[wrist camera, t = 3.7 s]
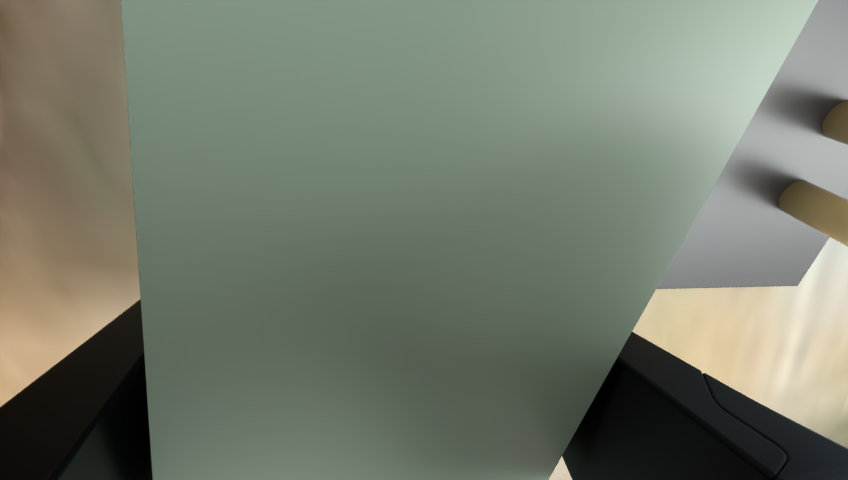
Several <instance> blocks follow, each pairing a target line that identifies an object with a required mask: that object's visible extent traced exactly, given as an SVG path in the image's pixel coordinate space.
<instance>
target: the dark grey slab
mask: <svg viewBox="0 0 848 480" xmlns="http://www.w3.org/2000/svg"><path fill="white" fill-rule="evenodd" d="M829 237H831V238H833V239H835V240H837V241H839V242H840V243H842V244H844V245H846V246H848V0H818V2H817V4H816V6H815V7H814V9H813V11H812V13H811V15H810V16H809V18H808V20H807V22H806V23H805V25H804V27H803V29H802V31H801V32H800V34H799V36H798V38H797V39H796V41H795V43H794V45H793V46H792V48H791V50H790V52H789V54H788V55H787V57H786V59H785V61H784V62H783V64H782V66H781V68H780V70H779V71H778V73H777V75H776V77H775V78H774V80H773V82H772V84H771V86H770V87H769V89H768V91H767V93H766V94H765V96H764V98H763V100H762V101H761V103H760V105H759V107H758V109H757V110H756V112H755V114H754V116H753V117H752V119H751V121H750V123H749V125H748V126H747V128H746V130H745V132H744V133H743V135H742V137H741V139H740V141H739V142H738V144H737V146H736V148H735V149H734V151H733V153H732V155H731V157H730V158H729V160H728V162H727V164H726V165H725V167H724V169H723V171H722V172H721V174H720V176H719V178H718V180H717V181H716V183H715V185H714V187H713V188H712V190H711V192H710V194H709V196H708V197H707V199H706V201H705V203H704V204H703V206H702V208H701V210H700V212H699V213H698V215H697V217H696V219H695V220H694V222H693V224H692V226H691V227H690V229H689V231H688V233H687V235H686V236H685V238H684V240H683V242H682V243H681V245H680V247H679V249H678V251H677V252H676V254H675V256H674V258H673V259H672V261H671V263H670V265H669V267H668V268H667V270H666V272H665V274H664V275H663V277H662V279H661V281H660V283H659V284H658V286H657V288H656V289H676V288H721V287H766V286H798V284H799V283H800V281H801V280H802V278H803V277H804V275H805V274H806V272H807V271H808V269H809V268H810V266H811V265H812V263H813V262H814V260H815V259H816V257H817V256H818V254H819V252H820V251H821V249H822V248H823V246H824V245H825V243H826V242H827V240H828V239H829Z"/></svg>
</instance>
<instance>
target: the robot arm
mask: <svg viewBox="0 0 848 480" xmlns="http://www.w3.org/2000/svg"><path fill="white" fill-rule="evenodd" d="M562 457H563V459H564V461H565V464H566V466H567V468H568V470H569V473H570V475H571V477H572V479H573V480H848V448H846V447H844V446H842V445H840V444H838V443H836V442H834V441H832V440H830V439H828V438H826V437H824V436H822V435H820V434H818V433H816V432H814V431H812V430H810V429H808V428H806V427H804V426H802V425H800V424H798V423H796V422H794V421H793V420H791V419H789V418H787V417H785V416H783V415H781V414H779V413H777V412H775V411H773V410H771V409H769V408H767V407H765V406H764V405H762V404H760V403H758V402H756V401H754V400H752V399H750V398H749V397H747V396H745V395H743V394H741V393H740V392H738V391H736V390H734V389H732V388H730V387H729V386H727V385H725V384H723V383H721V382H720V381H718V380H716V379H714V378H713V377H711V376H709V375H708V374H706V373H703V374H702V372H701V371H700V370H699V369H697V368H695V367H693V366H691V365H690V364H688V363H686V362H684V361H683V360H681V359H679V358H677V357H676V356H674V355H672V354H670V353H669V352H667V351H665V350H663V349H662V348H660V347H658V346H656V345H655V344H653V343H651V342H649V341H647V340H646V339H644V338H642V337H640V336H639V335H637V334H635V333H633V332H631V334H630V336H629V338H628V339H627V341H626V343H625V345H624V346H623V348H622V350H621V352H620V354H619V355H618V357H617V359H616V361H615V362H614V364H613V366H612V368H611V369H610V371H609V373H608V375H607V377H606V378H605V380H604V382H603V384H602V385H601V387H600V389H599V391H598V393H597V394H596V396H595V398H594V400H593V401H592V403H591V405H590V407H589V409H588V410H587V412H586V414H585V416H584V417H583V419H582V421H581V423H580V424H579V426H578V428H577V430H576V432H575V433H574V435H573V437H572V439H571V440H570V442H569V444H568V446H567V448H566V449H565V451H564V453H563V455H562ZM0 480H153V476H152V461H151V446H150V431H149V416H148V401H147V386H146V371H145V356H144V341H143V326H142V311H141V299H140V300H139V301H138V302H136V303H135V304H134V305H132V306H131V307H130V308H128V309H127V310H126V311H125V312H123V313H122V314H121V315H119V316H118V317H117V318H115V319H114V320H113V321H112V322H110V323H109V324H108V325H106V326H105V327H104V328H103V329H101V330H100V331H99V332H97V333H96V334H95V335H93V336H92V337H91V338H90V339H88V340H87V341H86V342H84V343H83V344H82V345H80V346H79V347H78V348H77V349H75V350H74V351H73V352H71V353H70V354H69V355H67V356H66V357H65V358H64V359H62V360H61V361H60V362H58V363H57V364H56V365H55V366H53V367H52V368H51V369H49V370H48V371H47V372H45V373H44V374H43V375H42V376H40V377H39V378H38V379H36V380H35V381H34V382H32V383H31V384H30V385H29V386H27V387H26V388H25V389H23V390H22V391H21V392H20V393H18V394H17V395H16V396H14V397H13V398H12V399H10V400H9V401H8V402H7V403H5V404H4V405H3V406H1V407H0Z"/></svg>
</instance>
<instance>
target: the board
mask: <svg viewBox="0 0 848 480" xmlns="http://www.w3.org/2000/svg"><path fill="white" fill-rule="evenodd" d="M817 2H818V0H121V11H122V26H123V41H124V56H125V71H126V86H127V101H128V116H129V131H130V146H131V161H132V176H133V191H134V206H135V221H136V236H137V251H138V266H139V281H140V296H141V311H142V326H143V341H144V356H145V371H146V386H147V401H148V416H149V431H150V446H151V461H152V476H153V480H549V478H550V476H551V474H552V472H553V471H554V469H555V467H556V465H557V464H558V462H559V460H560V458H561V456H562V455H563V453H564V451H565V449H566V448H567V446H568V444H569V442H570V440H571V439H572V437H573V435H574V433H575V432H576V430H577V428H578V426H579V424H580V423H581V421H582V419H583V417H584V416H585V414H586V412H587V410H588V409H589V407H590V405H591V403H592V401H593V400H594V398H595V396H596V394H597V393H598V391H599V389H600V387H601V385H602V384H603V382H604V380H605V378H606V377H607V375H608V373H609V371H610V369H611V368H612V366H613V364H614V362H615V361H616V359H617V357H618V355H619V354H620V352H621V350H622V348H623V346H624V345H625V343H626V341H627V339H628V338H629V336H630V334H631V332H632V330H633V329H634V327H635V325H636V323H637V322H638V320H639V318H640V316H641V314H642V313H643V311H644V309H645V307H646V306H647V304H648V302H649V300H650V298H651V297H652V295H653V293H654V291H655V290H656V288H657V286H658V284H659V283H660V281H661V279H662V277H663V275H664V274H665V272H666V270H667V268H668V267H669V265H670V263H671V261H672V259H673V258H674V256H675V254H676V252H677V251H678V249H679V247H680V245H681V243H682V242H683V240H684V238H685V236H686V235H687V233H688V231H689V229H690V227H691V226H692V224H693V222H694V220H695V219H696V217H697V215H698V213H699V212H700V210H701V208H702V206H703V204H704V203H705V201H706V199H707V197H708V196H709V194H710V192H711V190H712V188H713V187H714V185H715V183H716V181H717V180H718V178H719V176H720V174H721V172H722V171H723V169H724V167H725V165H726V164H727V162H728V160H729V158H730V157H731V155H732V153H733V151H734V149H735V148H736V146H737V144H738V142H739V141H740V139H741V137H742V135H743V133H744V132H745V130H746V128H747V126H748V125H749V123H750V121H751V119H752V117H753V116H754V114H755V112H756V110H757V109H758V107H759V105H760V103H761V101H762V100H763V98H764V96H765V94H766V93H767V91H768V89H769V87H770V86H771V84H772V82H773V80H774V78H775V77H776V75H777V73H778V71H779V70H780V68H781V66H782V64H783V62H784V61H785V59H786V57H787V55H788V54H789V52H790V50H791V48H792V46H793V45H794V43H795V41H796V39H797V38H798V36H799V34H800V32H801V31H802V29H803V27H804V25H805V23H806V22H807V20H808V18H809V16H810V15H811V13H812V11H813V9H814V7H815V6H816V4H817Z"/></svg>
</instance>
